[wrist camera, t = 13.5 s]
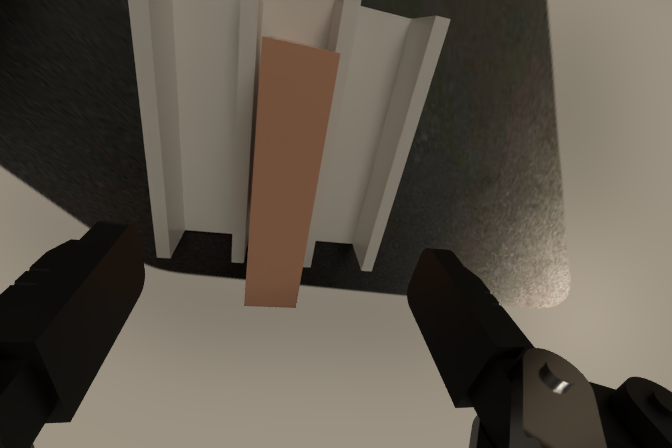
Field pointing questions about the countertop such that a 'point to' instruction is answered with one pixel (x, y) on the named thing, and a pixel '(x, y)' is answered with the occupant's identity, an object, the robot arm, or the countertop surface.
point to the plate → (286, 165)
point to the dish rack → (241, 112)
